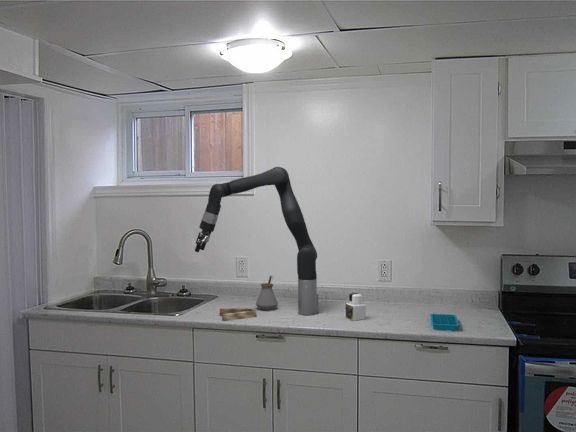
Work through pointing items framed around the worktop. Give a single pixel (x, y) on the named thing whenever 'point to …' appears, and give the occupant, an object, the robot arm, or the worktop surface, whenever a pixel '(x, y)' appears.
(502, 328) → the worktop surface
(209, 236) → the robot arm
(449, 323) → the ice cube tray
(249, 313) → the tong base
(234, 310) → the tong arm
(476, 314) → the worktop surface
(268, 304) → the coffee pot
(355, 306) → the medicine bottle
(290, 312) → the worktop surface
